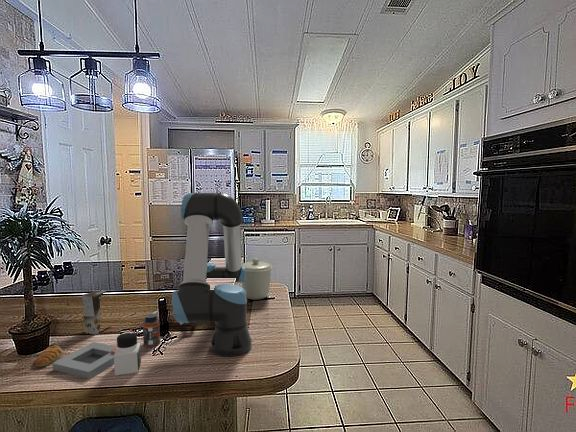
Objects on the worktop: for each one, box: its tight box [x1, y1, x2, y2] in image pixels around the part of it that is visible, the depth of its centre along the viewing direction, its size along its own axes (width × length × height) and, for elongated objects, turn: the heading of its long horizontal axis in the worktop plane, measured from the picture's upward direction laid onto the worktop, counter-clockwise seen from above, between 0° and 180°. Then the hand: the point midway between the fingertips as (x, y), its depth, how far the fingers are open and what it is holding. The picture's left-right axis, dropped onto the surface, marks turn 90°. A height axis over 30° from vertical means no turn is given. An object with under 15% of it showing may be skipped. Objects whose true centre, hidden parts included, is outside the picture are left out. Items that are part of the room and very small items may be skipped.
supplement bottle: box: [142, 313, 161, 348], centre depth 133 cm, size 6×6×11 cm
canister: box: [241, 257, 273, 300], centre depth 187 cm, size 18×18×21 cm
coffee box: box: [81, 290, 106, 335], centre depth 146 cm, size 9×6×16 cm
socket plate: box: [52, 341, 117, 380], centre depth 120 cm, size 16×16×3 cm
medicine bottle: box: [113, 331, 142, 377], centre depth 116 cm, size 7×7×12 cm
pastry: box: [35, 345, 64, 368], centre depth 121 cm, size 9×7×4 cm
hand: (166, 318), depth 142 cm, fingers open, 13 cm apart
